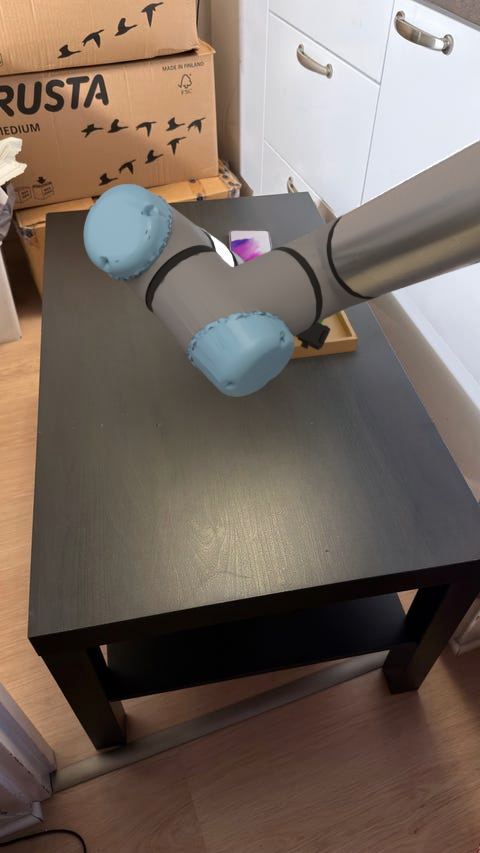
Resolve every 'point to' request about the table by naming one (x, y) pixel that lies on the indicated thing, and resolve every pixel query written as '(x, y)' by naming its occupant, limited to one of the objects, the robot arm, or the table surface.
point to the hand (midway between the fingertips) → (276, 319)
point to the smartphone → (249, 243)
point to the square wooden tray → (331, 338)
